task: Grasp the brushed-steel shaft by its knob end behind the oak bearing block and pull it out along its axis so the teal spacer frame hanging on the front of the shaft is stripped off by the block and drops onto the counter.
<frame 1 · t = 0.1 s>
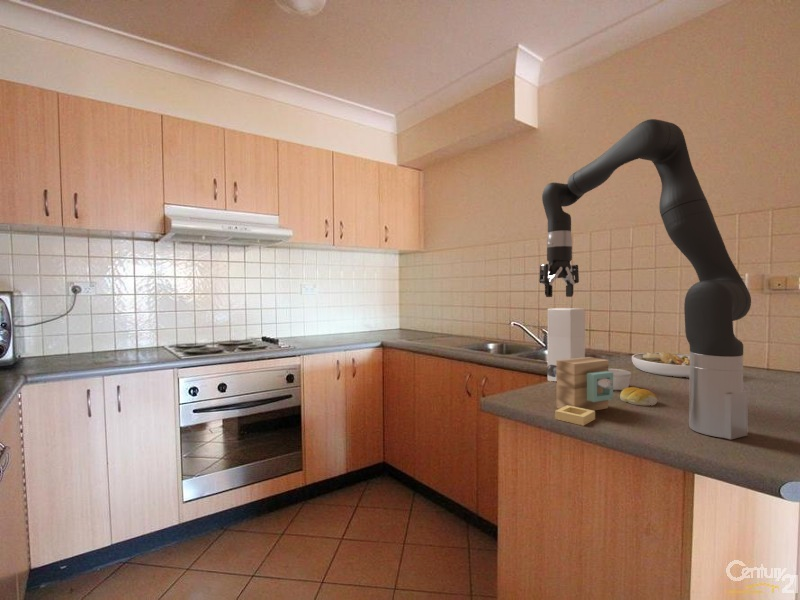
hand: (559, 296, 128), 29 cm above the countertop, tool pointing down, fingers open, 8 cm apart
tall white carton: (566, 381, 137), on the countertop
shaft: (577, 376, 107), point 8 cm above the countertop, slide at 0.0 cm, touching spacer
bearing block: (582, 407, 106), on the countertop
bowl: (677, 372, 153), on the countertop
spacer: (600, 399, 101), point 4 cm above the countertop, touching shaft
ramekin: (611, 387, 129), on the countertop
bread roll: (638, 403, 112), on the countertop
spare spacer: (575, 419, 97), on the countertop
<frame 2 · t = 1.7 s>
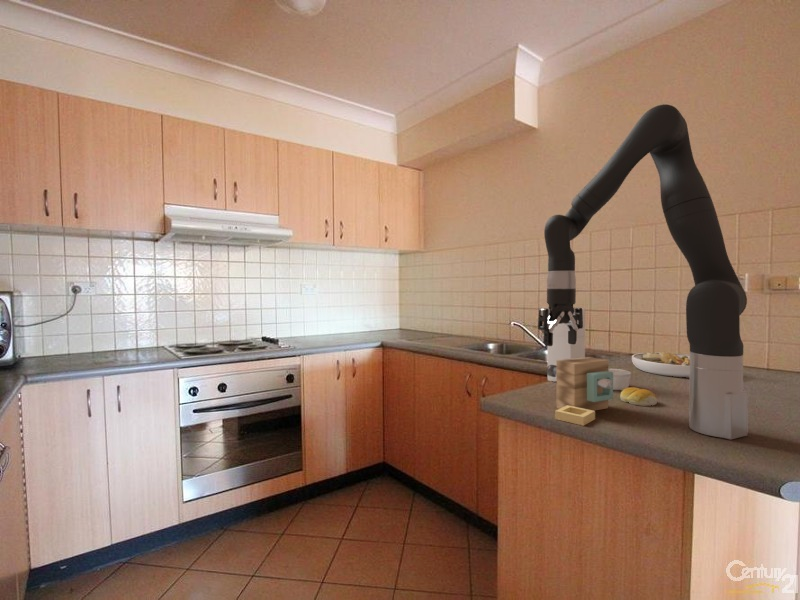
hand: (560, 344, 113), 16 cm above the countertop, tool pointing down, fingers open, 8 cm apart
nothing on the countertop moved.
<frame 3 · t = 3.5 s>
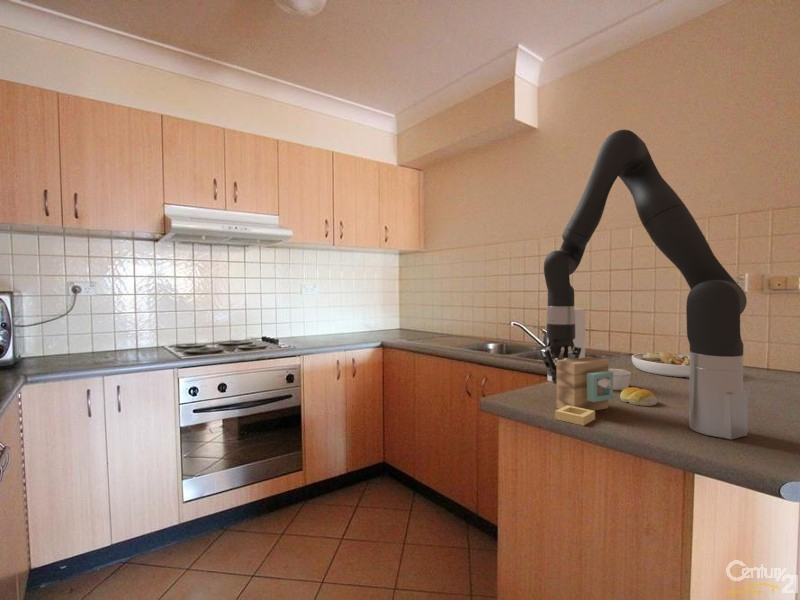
hand: (560, 382, 113), 5 cm above the countertop, tool pointing down, fingers closed on shaft, 2 cm apart
shaft: (577, 376, 107), point 8 cm above the countertop, slide at 0.0 cm, touching gripper, spacer
everything else where it was.
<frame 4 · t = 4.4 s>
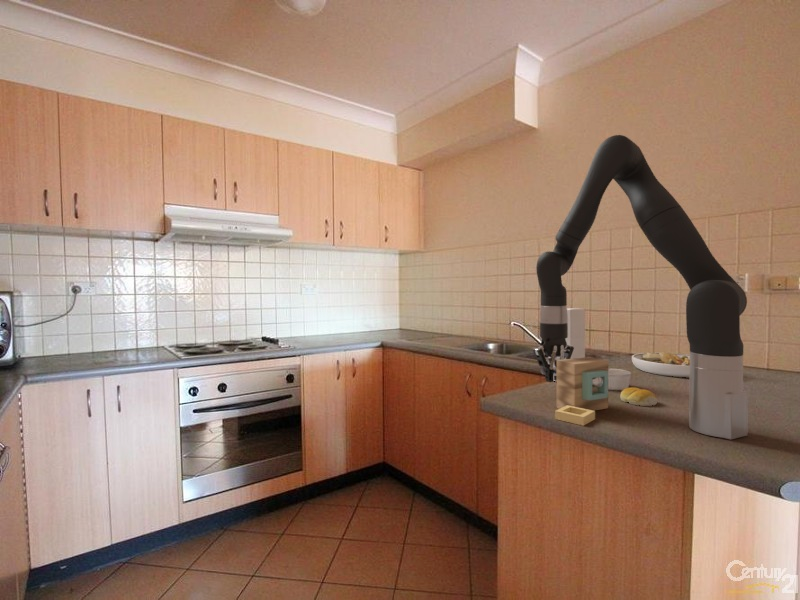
hand: (553, 381, 115), 5 cm above the countertop, tool pointing down, fingers closed on shaft, 2 cm apart
shaft: (569, 374, 110), point 8 cm above the countertop, slide at 2.7 cm, touching gripper, spacer
spacer: (595, 398, 102), point 4 cm above the countertop, touching shaft
everything else where it was.
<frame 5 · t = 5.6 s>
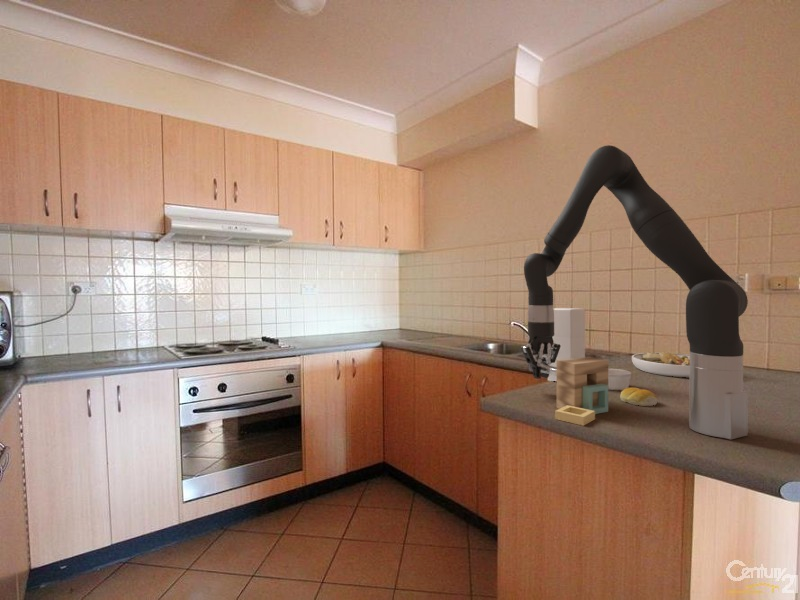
hand: (541, 377, 120), 5 cm above the countertop, tool pointing down, fingers closed on shaft, 2 cm apart
shaft: (555, 371, 115), point 8 cm above the countertop, slide at 7.7 cm, touching gripper
spacer: (595, 412, 102), on the countertop
everything else where it was.
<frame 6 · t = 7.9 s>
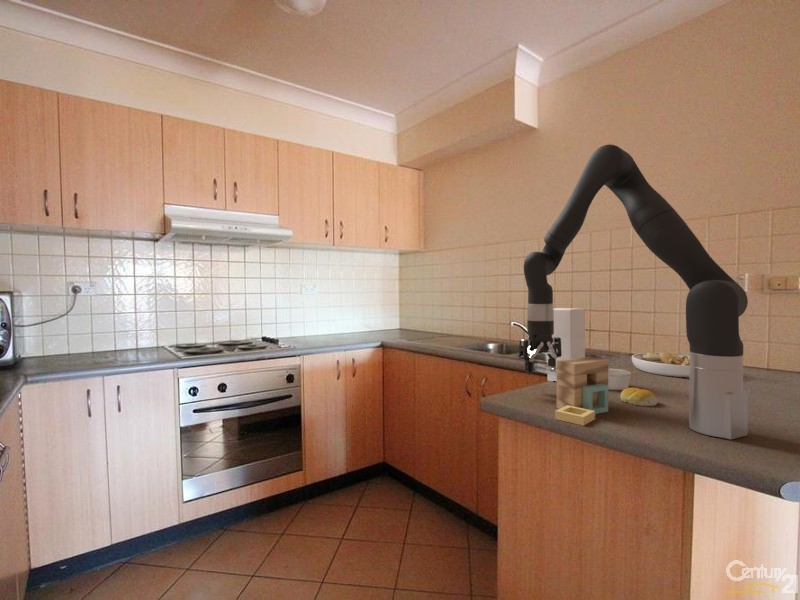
hand: (540, 372, 120), 7 cm above the countertop, tool pointing down, fingers open, 8 cm apart
shaft: (555, 371, 115), point 8 cm above the countertop, slide at 7.8 cm
everything else where it was.
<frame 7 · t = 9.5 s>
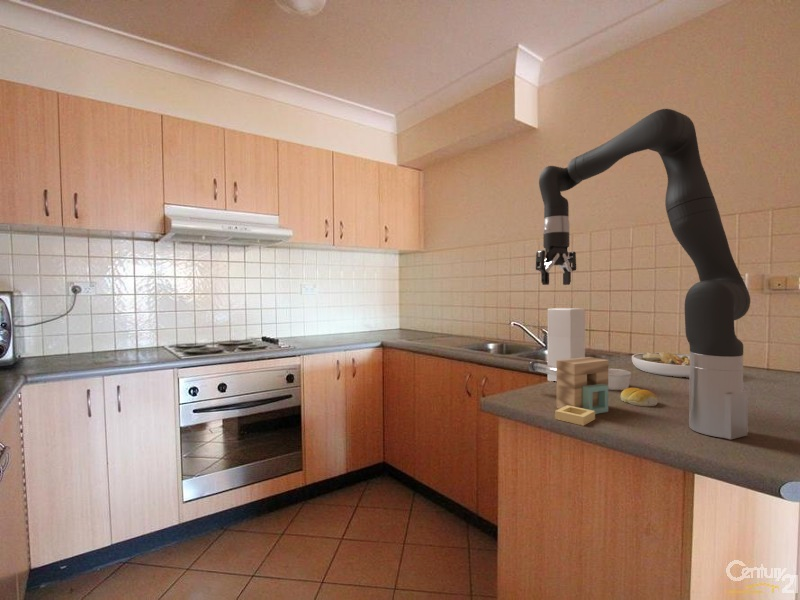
hand: (556, 284, 124), 33 cm above the countertop, tool pointing down, fingers open, 8 cm apart
nothing on the countertop moved.
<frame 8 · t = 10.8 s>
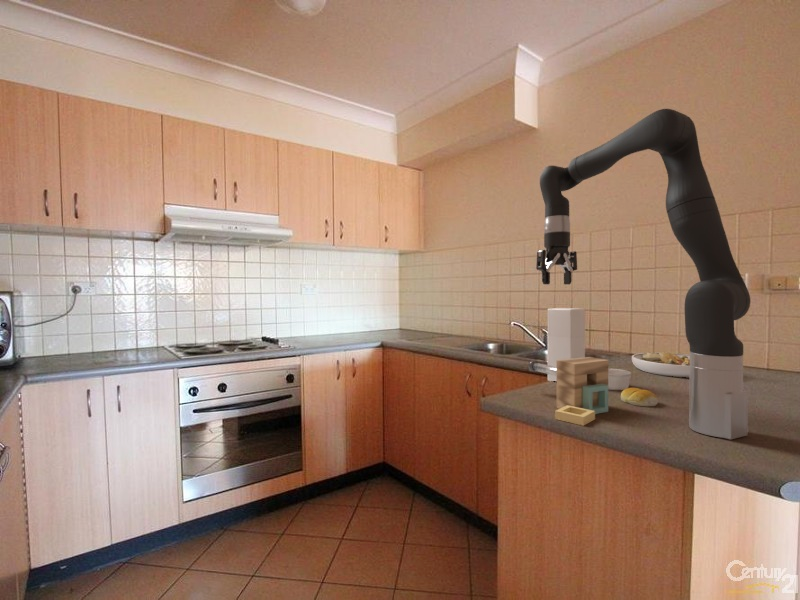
hand: (557, 284, 124), 33 cm above the countertop, tool pointing down, fingers open, 8 cm apart
nothing on the countertop moved.
at the end: shaft slide at 7.8 cm; spacer inside the target area (0.8 cm from its centre), on the countertop; spacer touching countertop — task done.
